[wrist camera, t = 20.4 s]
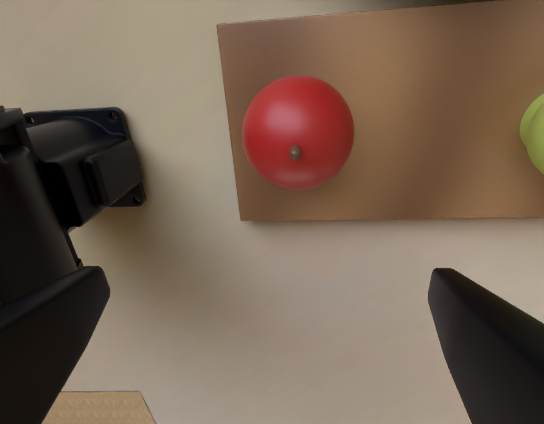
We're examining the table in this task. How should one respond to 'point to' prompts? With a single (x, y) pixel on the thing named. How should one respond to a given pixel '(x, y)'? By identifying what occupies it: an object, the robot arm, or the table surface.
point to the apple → (298, 132)
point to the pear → (534, 132)
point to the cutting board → (402, 108)
